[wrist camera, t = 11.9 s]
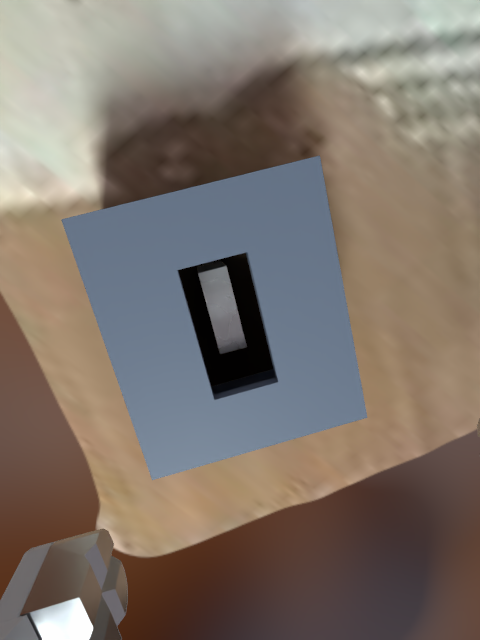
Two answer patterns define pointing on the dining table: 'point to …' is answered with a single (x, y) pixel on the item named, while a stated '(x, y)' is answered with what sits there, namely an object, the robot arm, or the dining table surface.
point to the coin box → (178, 329)
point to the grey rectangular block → (221, 306)
